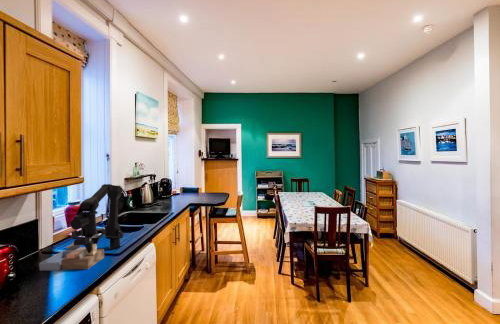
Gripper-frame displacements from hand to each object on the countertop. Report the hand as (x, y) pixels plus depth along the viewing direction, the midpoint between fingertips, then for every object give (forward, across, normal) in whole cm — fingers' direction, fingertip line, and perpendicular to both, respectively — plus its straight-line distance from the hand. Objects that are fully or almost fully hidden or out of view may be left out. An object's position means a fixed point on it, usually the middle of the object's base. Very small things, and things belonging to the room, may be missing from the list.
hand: (91, 251), depth 137 cm
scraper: (+1, 0, 0) cm, 1 cm away
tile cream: (+1, -3, -8) cm, 8 cm away
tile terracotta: (+1, +3, -8) cm, 8 cm away
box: (+6, 0, -17) cm, 18 cm away
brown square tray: (+6, 0, -4) cm, 8 cm away
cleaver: (+7, -24, -29) cm, 38 cm away
